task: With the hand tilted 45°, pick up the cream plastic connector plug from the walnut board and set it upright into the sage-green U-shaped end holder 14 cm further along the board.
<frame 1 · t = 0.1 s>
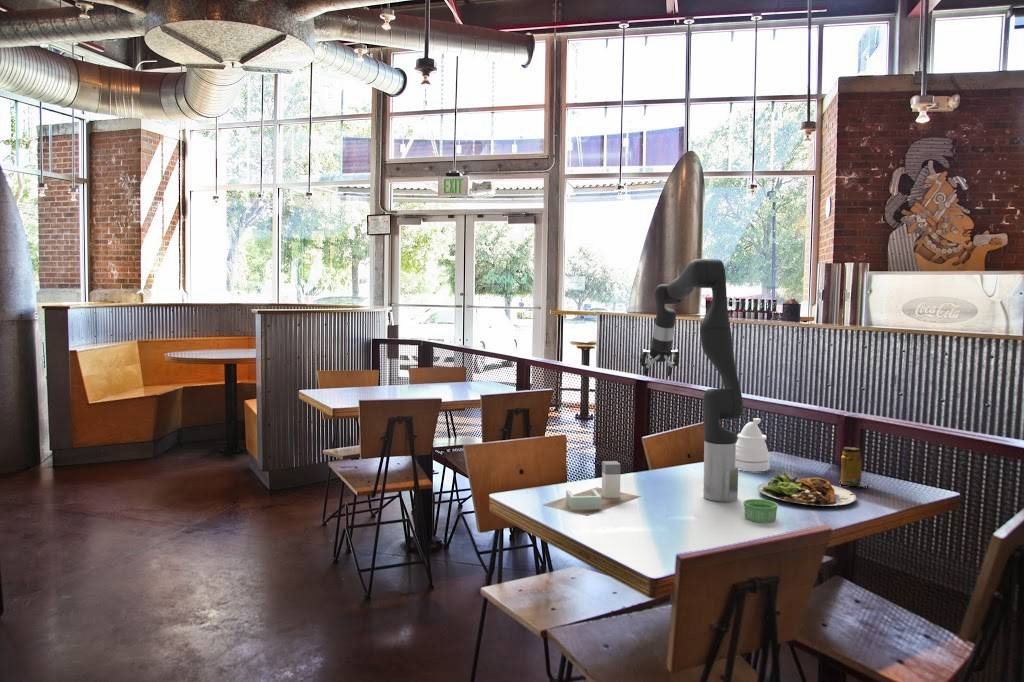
hand: (657, 375, 279), 31 cm above the table, tool tilted 20°, fingers open, 8 cm apart
connector: (610, 495, 222), point 1 cm above the table, touching board
plate of food: (805, 498, 227), on the table
board: (592, 504, 217), on the table
condiment: (853, 485, 242), on the table
honey pot: (750, 468, 265), on the table
ramekin: (760, 519, 204), on the table
end holder: (583, 505, 212), resting on board
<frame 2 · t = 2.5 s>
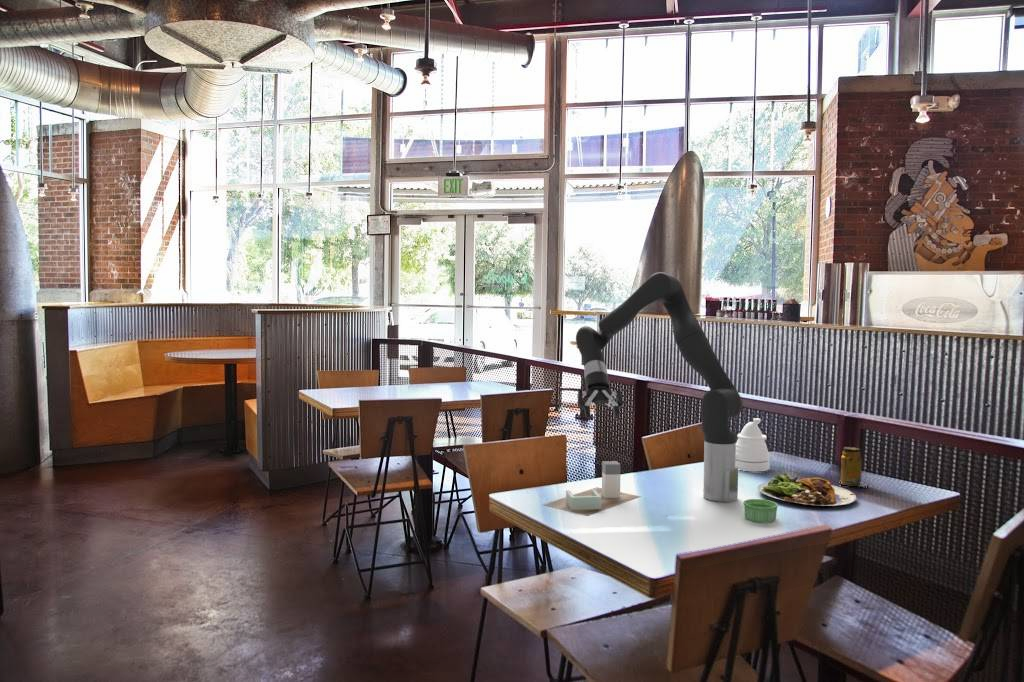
hand: (602, 418, 234), 23 cm above the table, tool tilted 45°, fingers open, 8 cm apart
nothing on the table moved.
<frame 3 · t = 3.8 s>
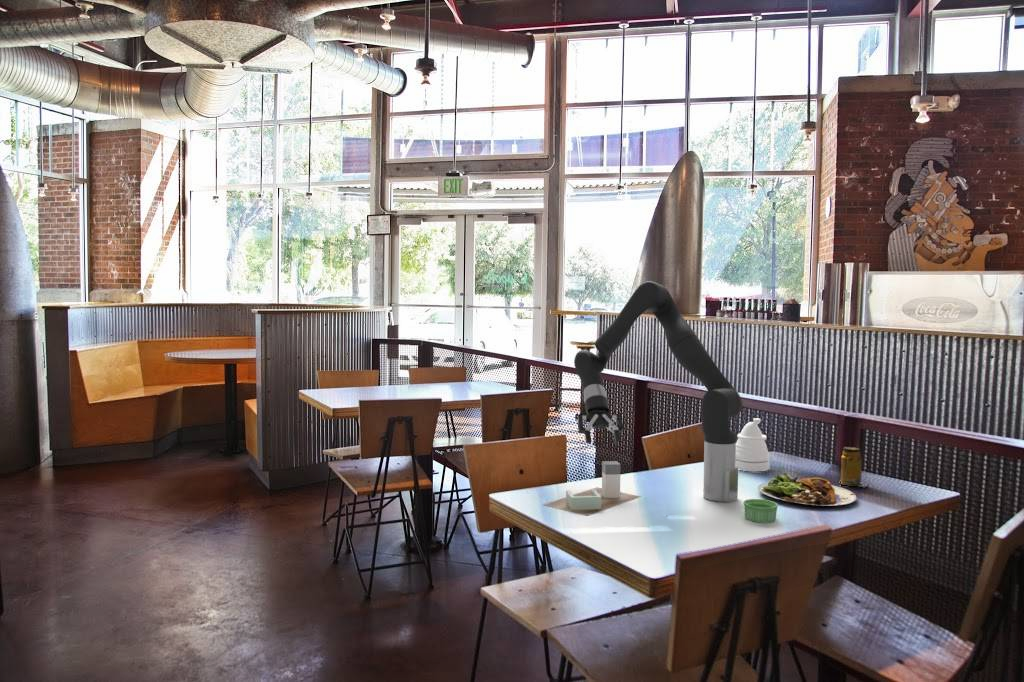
hand: (603, 442, 232), 15 cm above the table, tool tilted 45°, fingers open, 8 cm apart
nothing on the table moved.
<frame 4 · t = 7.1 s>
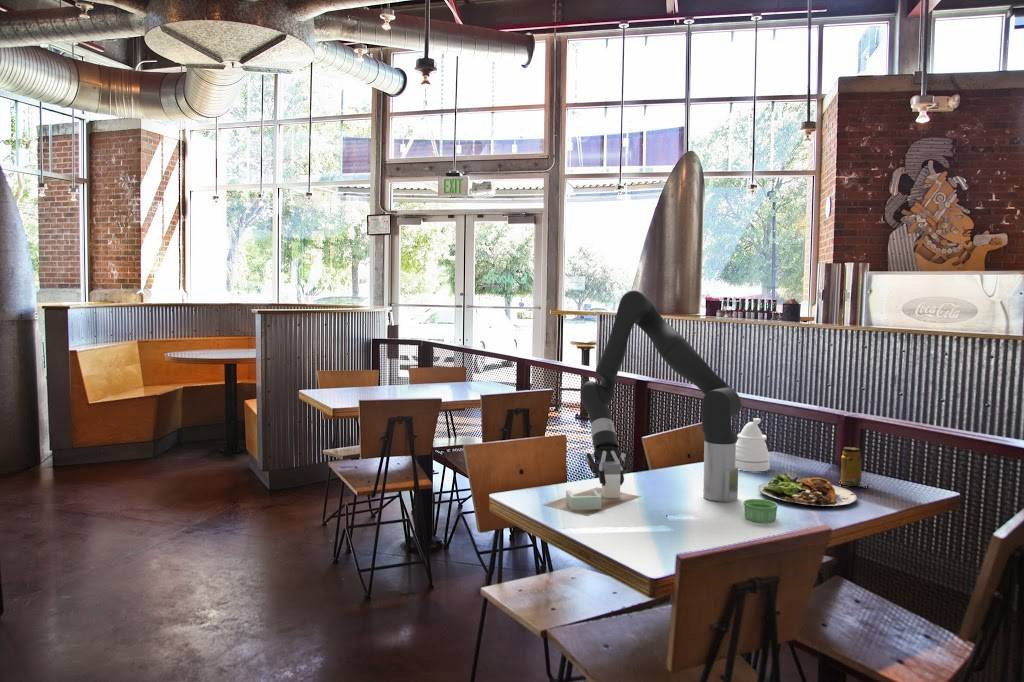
hand: (612, 483, 220), 5 cm above the table, tool tilted 45°, fingers closed on connector, 4 cm apart
connector: (610, 495, 222), point 1 cm above the table, touching board, gripper
everything else where it was.
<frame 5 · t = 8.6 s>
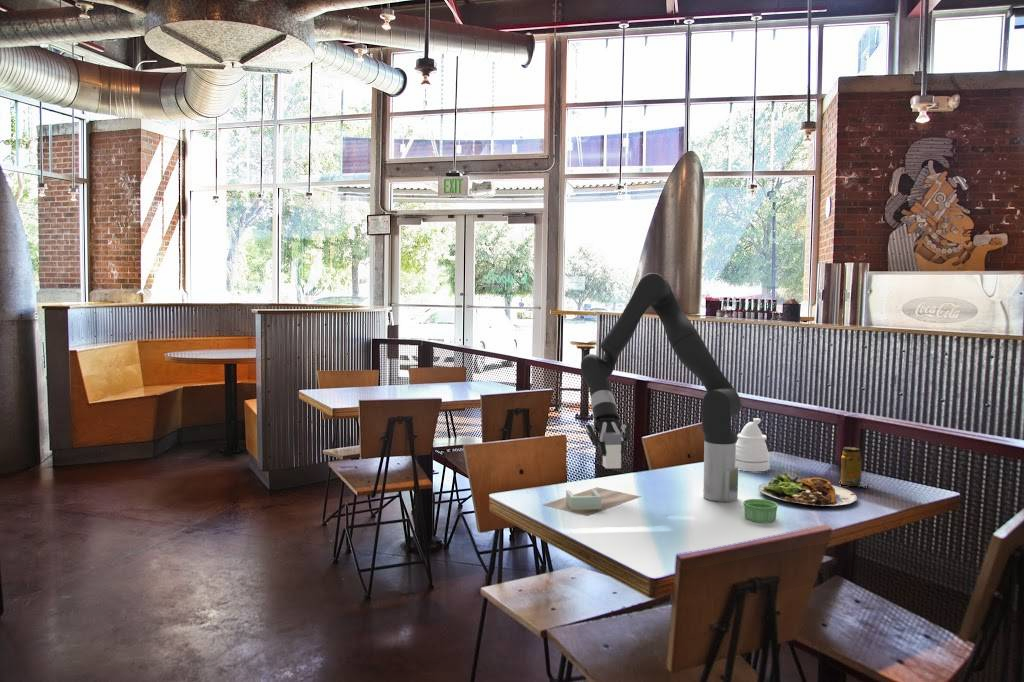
hand: (613, 454, 220), 14 cm above the table, tool tilted 45°, fingers closed on connector, 4 cm apart
connector: (611, 466, 222), point 10 cm above the table, touching gripper
everything else where it was.
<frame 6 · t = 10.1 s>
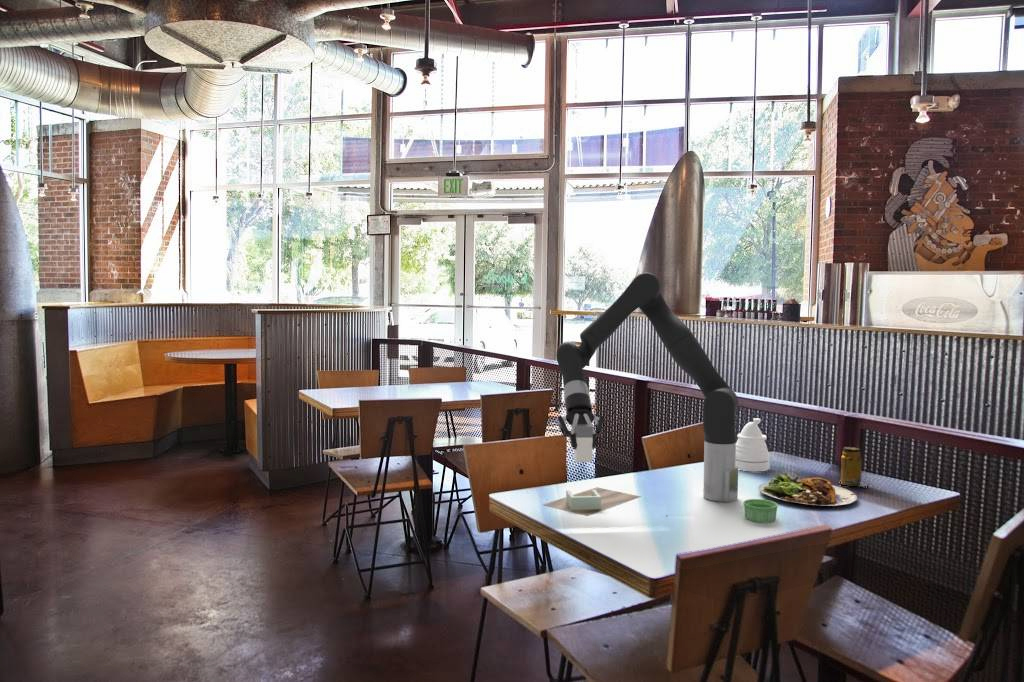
hand: (584, 447, 210), 18 cm above the table, tool tilted 45°, fingers closed on connector, 4 cm apart
connector: (582, 460, 212), point 14 cm above the table, touching gripper
everything else where it was.
when the fingers open (7 cm above the table, at t = 12.6 s): connector drops 2 cm, resting on board.
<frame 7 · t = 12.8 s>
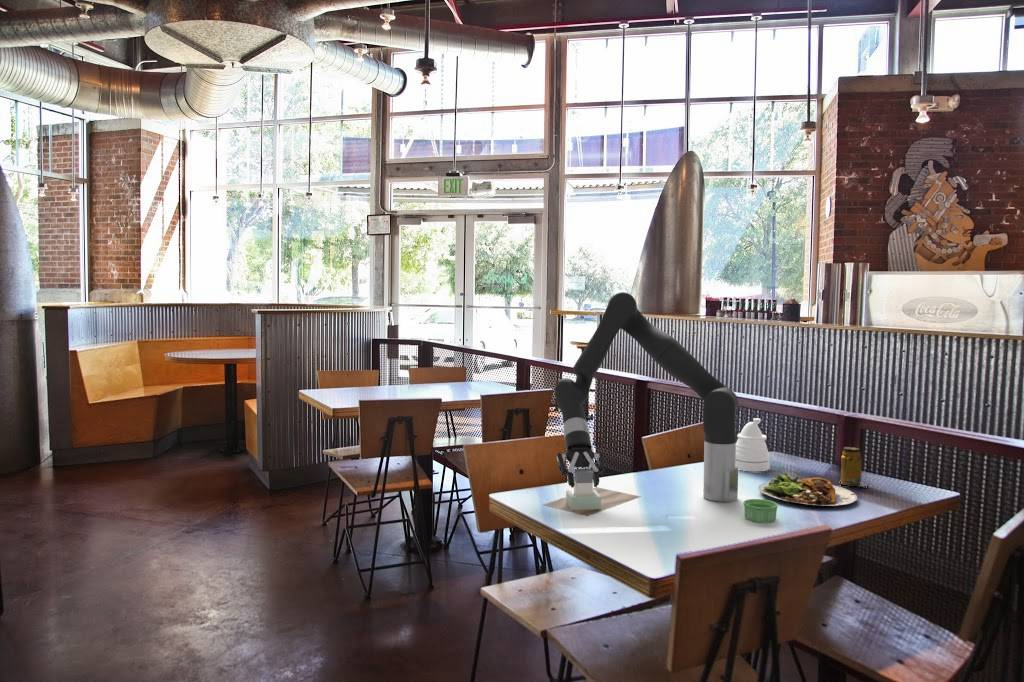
hand: (584, 485, 210), 7 cm above the table, tool tilted 45°, fingers open, 6 cm apart
connector: (583, 505, 212), point 1 cm above the table, touching board
everything else where it was.
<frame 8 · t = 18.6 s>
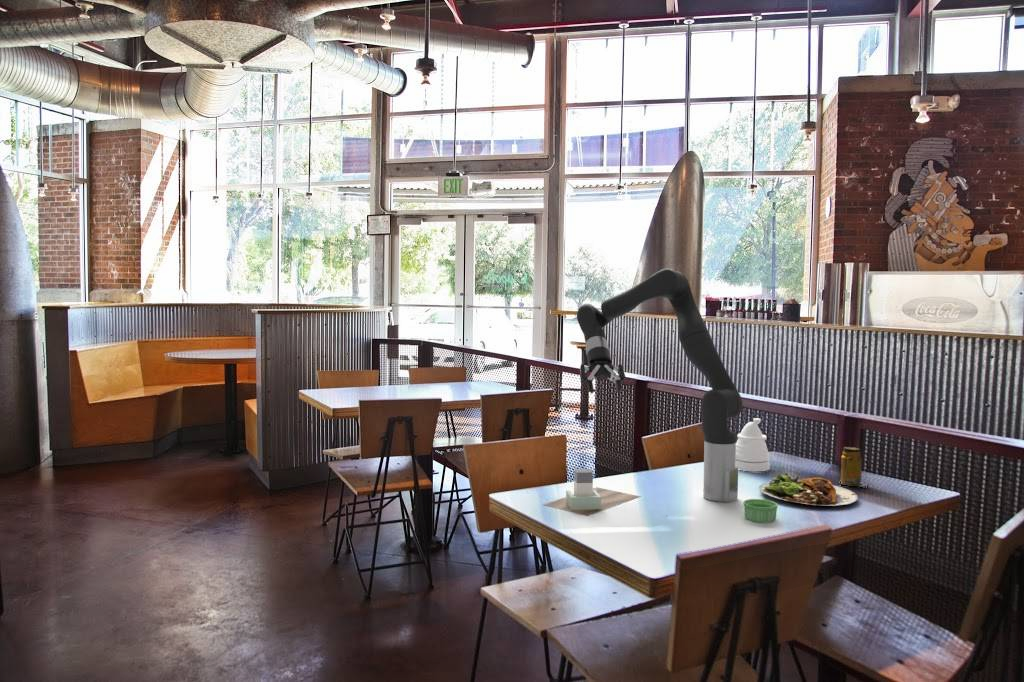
hand: (605, 391, 236), 31 cm above the table, tool tilted 45°, fingers open, 8 cm apart
nothing on the table moved.
at the end: connector 0.1 cm off-centre on the end holder, point 0.0 cm above the end holder's base; connector tilted 0°; the gripper is holding nothing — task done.
